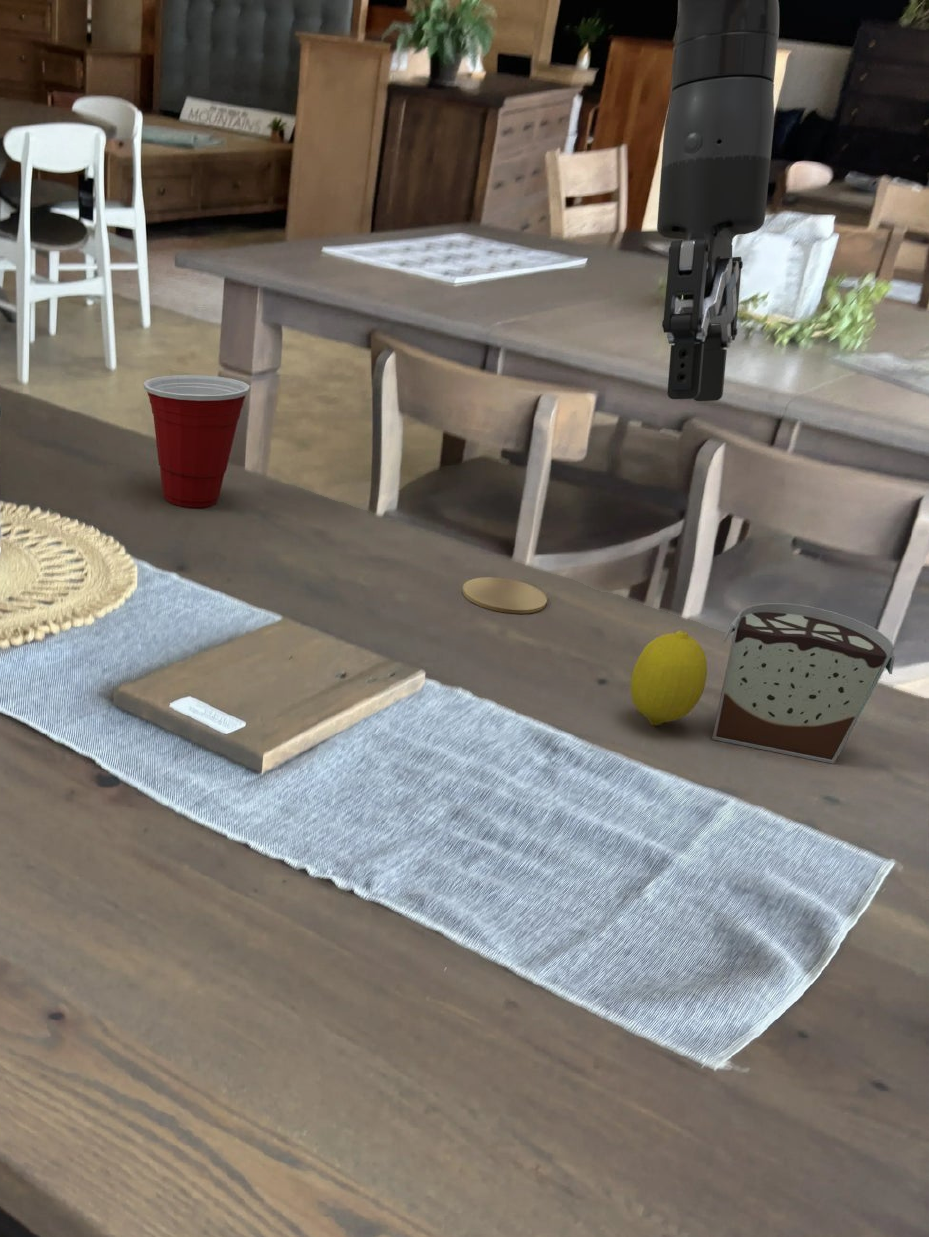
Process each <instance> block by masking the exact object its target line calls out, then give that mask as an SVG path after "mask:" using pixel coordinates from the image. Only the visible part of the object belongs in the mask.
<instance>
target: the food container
mask: <svg viewBox="0 0 929 1237" xmlns="http://www.w3.org/2000/svg"><path fill="white" fill-rule="evenodd" d="M732 633H733V635H732V641H731V645H730V649H729V655H728V659H727V665H726V668H725V674H724V679H723V684H722V689H721V693H720V699H719V703H718V707H717V708H718V709H717V713H716V716H715V722H714V727H713V732H712V737H711V738H712V740H713V741H714V740H715V741H718V742H724V743H728V744H734V745H737V746H744V747H749V748H753V749H758V750H763V751H768V752H773V753H778V754H782V755H787V756H793V757H797V758H803V759H806V760H807V759H808V760H812V761H816V762H821V763H822V762H823V763H827V764H831V765H834V764H835V763H836V762H837V759H838V758H839V755H840V754H841V752H842V750H843V748H844V746H845V745H846V742H847V740H848V739H849V737H850V735H851V733H852V731H853V729H854V727H855V725H856V723H857V722H858V720H859V718H860V716H861V714H862V712H863V711H864V708H865V706H866V705H867V703H868V701H869V699H870V697H871V695H872V693H873V691H874V689H875V687H876V686H877V684H878V682H879V680H880V678H881V676H882V674H883V672H884V671H885V669H886V670H887V672H888V674H889V675H893V669H894V663H895V658H896V656H895V653H894V650H895V646H894V643H893V642H892V640H891V639H889V638H888V637H887V636H886V635H884V634H883V633H882V632H880V631H879V630H878V629H876V628H875V627H873V626H871V625H868V624H866V623H864V622H862V621H861V620H858V619H855V618H853V617H850V616H847V615H845V614H841V613H838V612H835V611H831V610H827V609H824V608H821V607H820V608H819V607H816V606H815V607H814V606H810V605H804V604H797V603H796V604H795V603H787V602H786V603H785V602H765V603H758V604H753V605H750V606H747V607H745V608H743V609H742V610H741V611H740V612H739V613H738V615H737V616H736V617H735V618H734V619H733V620H732V622H731V624H730V626H729V627H728V629H727V631H726V632H725V634H724V636H723V640H722V643H724V644H725V643H726V642H727V640H728V638H729V637H730V635H731V634H732Z"/></svg>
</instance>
